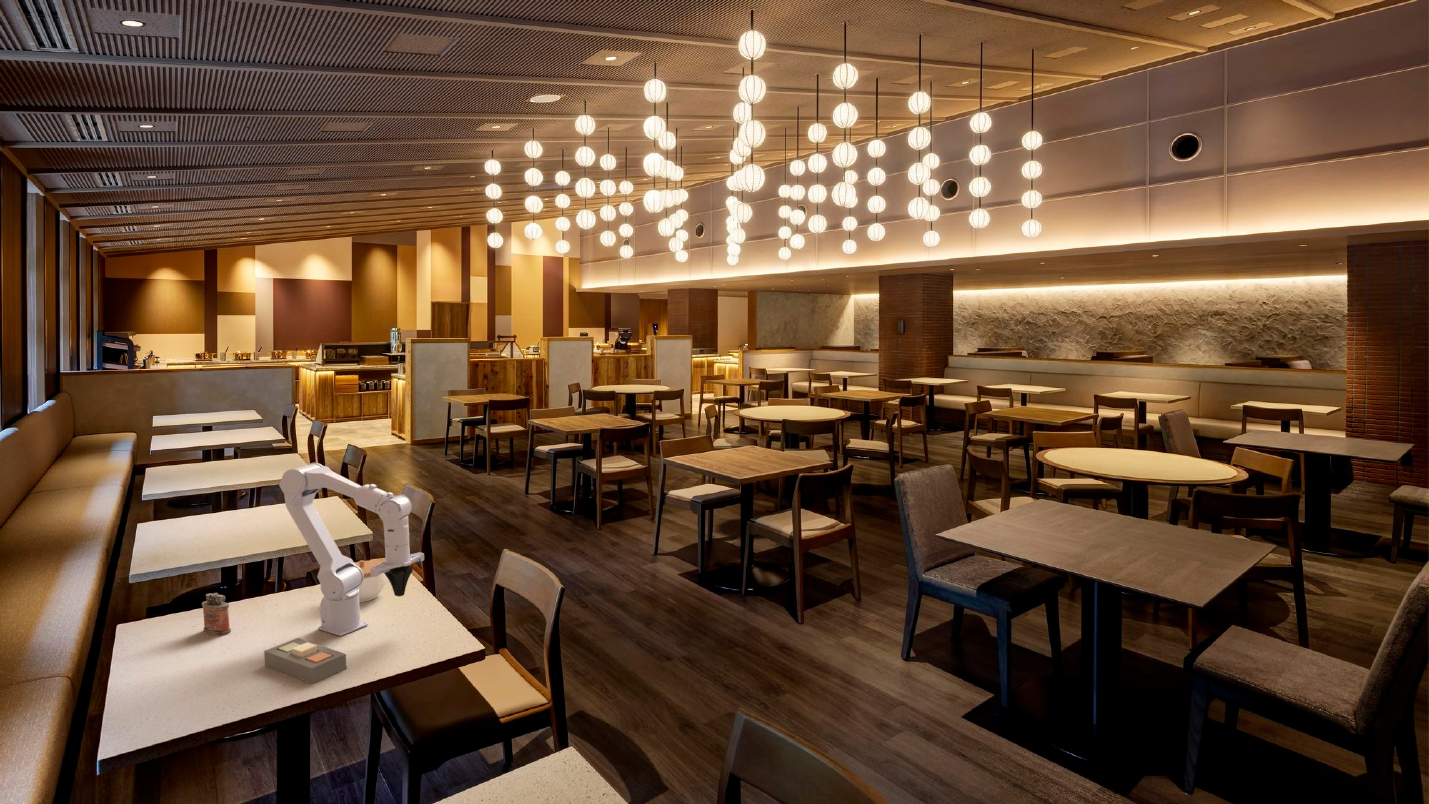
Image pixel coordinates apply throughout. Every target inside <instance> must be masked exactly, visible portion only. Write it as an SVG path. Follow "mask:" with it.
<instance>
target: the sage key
mask: <svg viewBox="0 0 1429 804" xmlns="http://www.w3.org/2000/svg"><path fill="white" fill-rule="evenodd" d="M299 645H300V644H297V643H295V642H293V643H290V644H288V645H285V646H283V647H280V648H278V650H279V651H282V652H285V653H289V652H291V651H292V648H294V647H297V646H299Z"/></svg>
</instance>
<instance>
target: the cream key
mask: <svg viewBox="0 0 1429 804" xmlns="http://www.w3.org/2000/svg"><path fill="white" fill-rule="evenodd" d="M316 652H317V645H314V644H311V643H308V642H307V643H305V644H302V645H299V646H297V647H294V648H292V655H293V656H296V657H299V658H303V657H306V656H308V655H311V654H313V653H316Z"/></svg>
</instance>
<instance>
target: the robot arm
mask: <svg viewBox="0 0 1429 804" xmlns="http://www.w3.org/2000/svg"><path fill="white" fill-rule="evenodd" d="M278 485H279V487H280V490H281V492H282V493H283V496H284V502H285V507H286V509H287V511H288V513H289V515H290V517H291V518H292V520H293V521H294V523H295V525H296V526H297V529H298V530H299V532H300V534H301V535H302V537H303V539H304V540H305V542H306V544H307V546H308V547H309V549H310V551H311V553H312V554H313V556H314V558H315V560H316V561H317V563H318V565H319V570H318V573H317V577H316V578H317V579H318V581H319V584H320V590H321V593H322V595H323V597H322V598H321V601H320V603H319V606H320V608H319V609H320V626H318V627H317V629H318V630H321V631H324V632H327V633H330V634H332V635H337V636H339V637H343V636H344V635H345V636H346V634H349V633H352V632H354V631H357V630H359V629H361V628H364V627H367V626H368V625H369V623H368V622H366V621H362V620H361V609H360V606H361V605H360V602H359V590H360V588H359V586H360V585H361V584H362V582H363V580H364V574H363V571H362V570H361V568H360V567H358V566H357V565H356V564H355V562H354V560H353V559H352V558H351V557H348V556H345V555H343V554H342V551H341V550H340V549H339V547H338V546H337V544H336V542H335V540H334V539H333V537H332V535H331V532H329V530H328V528H327V526H326V524H325V523H324V521H323V519H322V517H321V516H320V514H319V513H318V511H317V509H316V507H315V506H314V503H313V502H314V499H315V497H316V494H317V493H318V492H319V491H320V489H324V488H325V489H328V490H331V491H334V492H335V493H339V494H342V495H344V496H346V497H349V498H352V499H353V500H354V503H355V505H357V506H359V507H361V508H364V509H365V510H368V511H371V512H373V513H375V514H377V515H378V517H379V518H380V520H381V521H382V524H383V529H384V530H383V532H384V533H383V534H384V535H383V536H384V550H385V553H384V554H385V557H384V558H385V560H384V561H381V562H382V563H380V564H379V565H377V566H375V567H372V568H370V575H371V576H375V577H377V576H379V574H382V573H384V574H385V575H386V578H387V580H388V582H389V583H390V585H391V587H392V590H393V591H392V592H393V593H394V596H395V597H403V596H405V592H406V587H407V584H408V582H409V581H408V580H409V579H410V576H411V575H412V573H413V571H414V567H413V566H410V565H412V564H415V563H418V562H423V561H425V553H423V552H420V551H419V552H415V553H411V551H410V550H411V549H410V529H409V527H410V526H409V515H410V514H411V512H412V510H413V503H412V502H411V500H410V498H409V497H407V496H406V495H405V494H397V495H394V493H393V492H391V491H390V492H387V491H385V490H383V489H380V488H378V485H376V484H374V483H371V484H369V483H367V484H364V485H360V484H359V483H357V482H354V481H352V480H351V479H348V478H346V477H344V476H342V475H340V474H338V473H337V472H334V471H332V469H330V467H328V466H325V465H322V464H321V463H317V462H311V463H308V464H307V465H304V466H303V465H302V466H300V467H296V468H290V469H288V470H285V472H284V473H283V474H282V476H281V479H280V482H279V484H278Z"/></svg>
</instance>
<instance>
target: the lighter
mask: <svg viewBox="0 0 1429 804" xmlns="http://www.w3.org/2000/svg"><path fill="white" fill-rule="evenodd" d="M205 598H206V600H205V601H202V602H201V606H202V609H203V611H202V612H203V625H204V627H203V632H204V633H206V634H210V635H213V636H220V637H222V636H226V635H229V634H231V628H230V619H229V618H230V617H229V608H230V604H229V603H228V602H225V601H226V596H225V595H223V594H219V593H218V592H214V593H207V594H205Z"/></svg>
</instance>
